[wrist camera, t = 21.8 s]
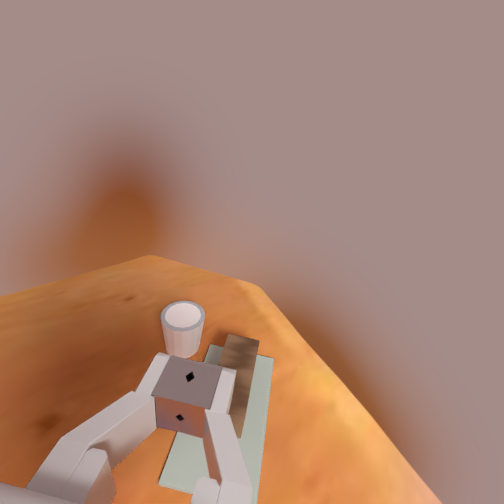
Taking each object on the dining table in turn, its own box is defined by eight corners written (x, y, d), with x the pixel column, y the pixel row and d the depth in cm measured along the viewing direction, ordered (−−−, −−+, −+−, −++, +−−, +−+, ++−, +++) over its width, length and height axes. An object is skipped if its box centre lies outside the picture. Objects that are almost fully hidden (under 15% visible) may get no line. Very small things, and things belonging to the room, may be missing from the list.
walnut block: (204, 407, 34) (228, 333, 44) (202, 429, 37) (225, 354, 47) (245, 416, 34) (259, 340, 44) (240, 438, 36) (255, 361, 47)
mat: (158, 485, 32) (158, 483, 31) (210, 346, 49) (210, 344, 48) (255, 511, 31) (256, 509, 30) (273, 360, 48) (273, 358, 48)
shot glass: (202, 329, 52) (204, 299, 48) (203, 361, 46) (206, 330, 42) (163, 330, 50) (162, 300, 47) (159, 363, 45) (157, 331, 41)
